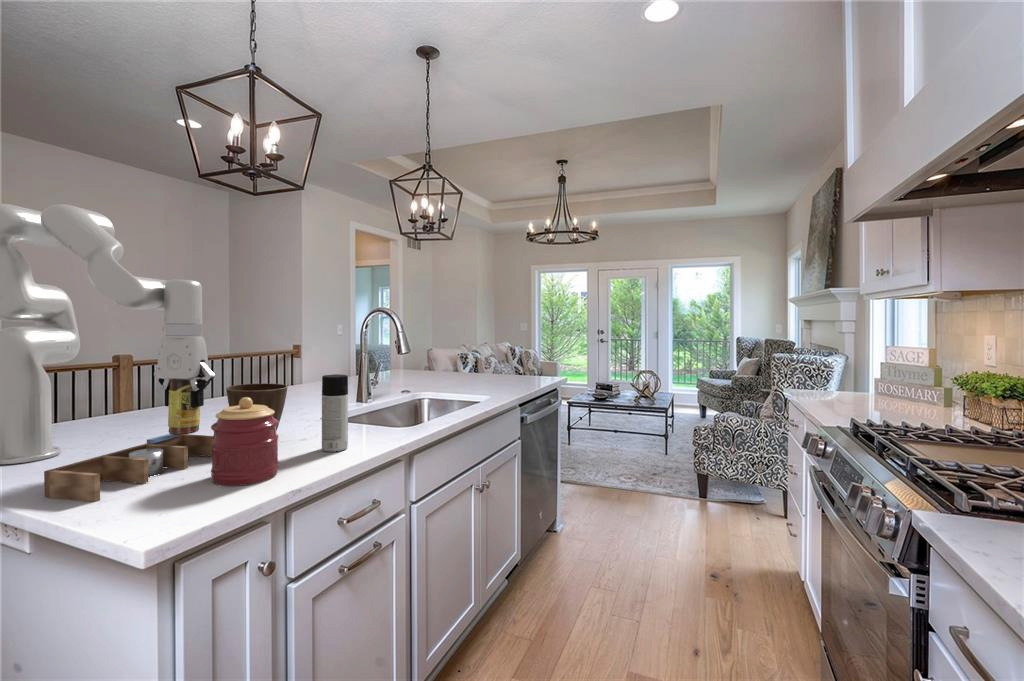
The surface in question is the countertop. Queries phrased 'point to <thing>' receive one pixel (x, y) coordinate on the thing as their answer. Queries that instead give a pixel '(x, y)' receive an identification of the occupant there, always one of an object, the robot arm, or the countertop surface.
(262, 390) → the plant pot
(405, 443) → the countertop surface
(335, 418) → the spray can
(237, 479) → the canister
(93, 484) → the caddy
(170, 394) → the sauce bottle
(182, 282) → the robot arm
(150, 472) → the tin
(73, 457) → the countertop surface
